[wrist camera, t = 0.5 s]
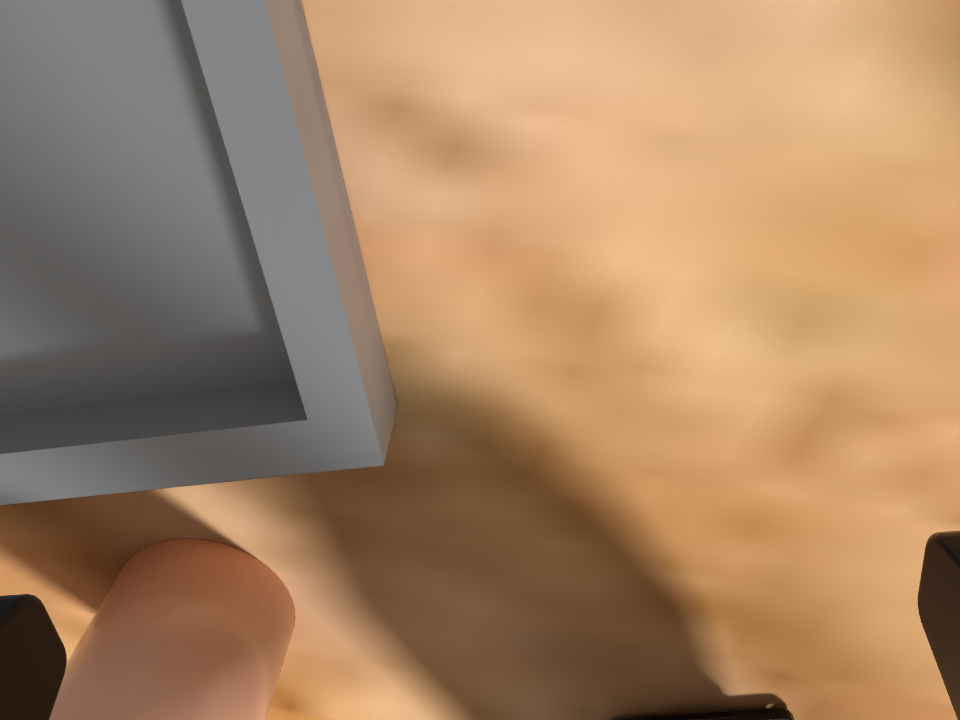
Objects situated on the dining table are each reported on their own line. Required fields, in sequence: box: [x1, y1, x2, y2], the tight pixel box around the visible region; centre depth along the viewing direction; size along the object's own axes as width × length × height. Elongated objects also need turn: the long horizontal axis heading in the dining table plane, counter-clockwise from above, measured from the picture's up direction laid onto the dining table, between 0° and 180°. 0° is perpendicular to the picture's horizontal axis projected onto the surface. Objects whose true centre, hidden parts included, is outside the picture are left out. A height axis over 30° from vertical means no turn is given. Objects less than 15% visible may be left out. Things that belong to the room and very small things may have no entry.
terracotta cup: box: [50, 539, 295, 720], centre depth 24 cm, size 6×6×8 cm
